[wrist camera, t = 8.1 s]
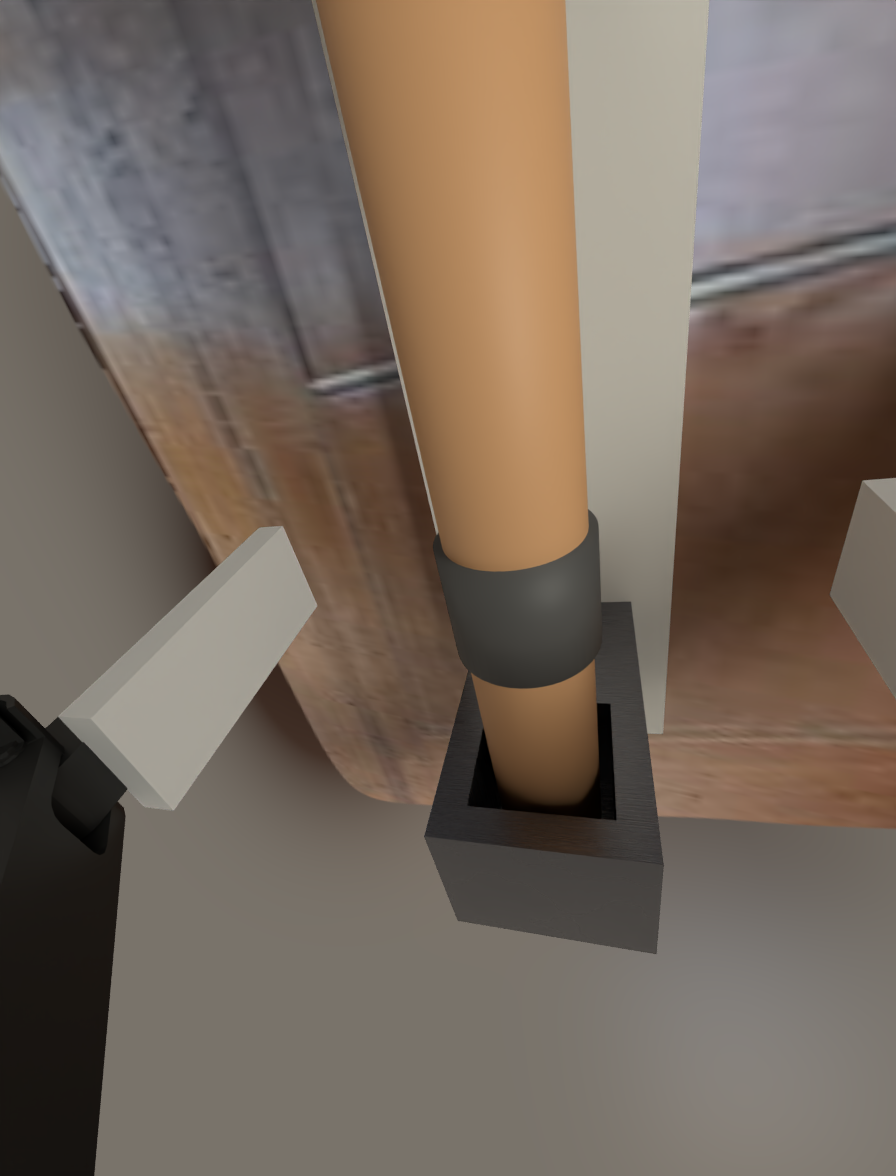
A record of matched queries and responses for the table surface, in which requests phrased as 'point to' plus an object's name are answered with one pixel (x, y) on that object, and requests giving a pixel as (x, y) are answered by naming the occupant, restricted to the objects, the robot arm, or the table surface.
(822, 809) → the table surface
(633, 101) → the baseboard
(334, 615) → the table surface
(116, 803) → the robot arm
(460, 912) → the charcoal socket
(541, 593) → the orange tube
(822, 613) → the table surface
